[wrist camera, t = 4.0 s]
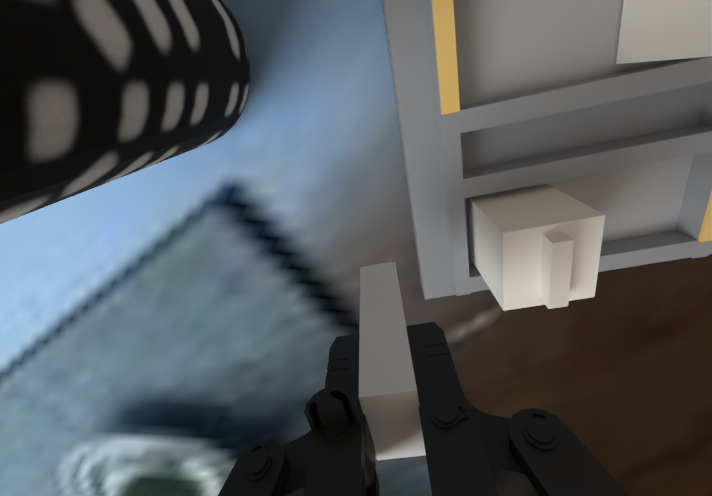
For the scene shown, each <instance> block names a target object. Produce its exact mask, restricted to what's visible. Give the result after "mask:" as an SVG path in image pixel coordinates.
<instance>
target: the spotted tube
mask: <svg viewBox="0 0 712 496" xmlns="http://www.w3.org/2000/svg"><path fill="white" fill-rule="evenodd" d="M249 83H250V82H249V61H248V55H247V50H246V45H245V42H244V39H243V37H242V34H241V31H240V28H239V26H238V24H237V22H236V20H235V19H234V17H233V15H232V13H231V11H230V10H229V8H228V7H227V5H226V4H225V3H224V1H223V0H0V224H2V223H4V222H7V221H9V220H12V219H15V218H17V217H20V216H22V215H25V214H27V213H30V212H33V211H35V210H38V209H40V208H43V207H45V206H48V205H51V204H53V203H56V202H58V201H61V200H64V199H66V198H69V197H71V196H74V195H76V194H79V193H82V192H84V191H87V190H89V189H92V188H94V187H97V186H100V185H102V184H105V183H107V182H110V181H113V180H115V179H118V178H120V177H123V176H125V175H128V174H131V173H133V172H136V171H138V170H141V169H143V168H146V167H149V166H151V165H154V164H156V163H159V162H162V161H164V160H167V159H169V158H172V157H174V156H177V155H180V154H182V153H185V152H187V151H190V150H192V149H195V148H198V147H200V146H203V145H205V144H208V143H211V142H212V141H214V140H216V139H218V138H219V137H221V136H223V135H224V134H225V133H226V132H227V131H228V130H229V129H230V128H231V127H232V126H233V125H234V124H235V122H236V121H237V119H238V118H239V116H240V115H241V113H242V110H243V107H244V105H245V102H246V100H247V94H248V89H249Z"/></svg>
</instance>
